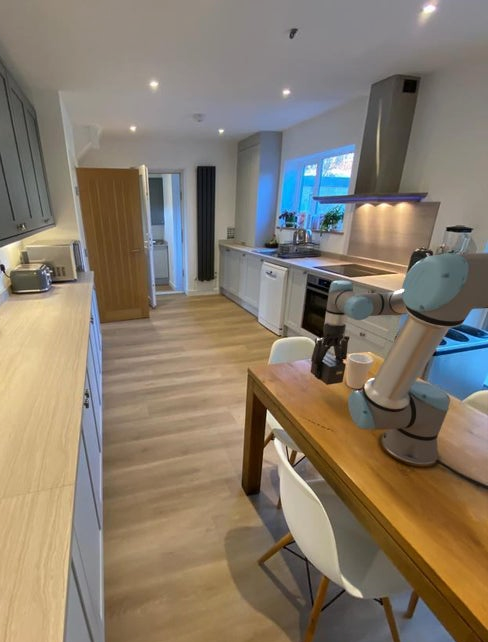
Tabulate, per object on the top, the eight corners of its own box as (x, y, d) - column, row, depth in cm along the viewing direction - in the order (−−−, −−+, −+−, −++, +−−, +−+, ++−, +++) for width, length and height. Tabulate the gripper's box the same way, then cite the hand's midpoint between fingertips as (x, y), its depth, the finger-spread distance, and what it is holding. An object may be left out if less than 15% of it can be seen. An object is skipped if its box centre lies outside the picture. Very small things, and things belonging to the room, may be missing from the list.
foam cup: (369, 391, 136) (376, 364, 130) (345, 389, 137) (351, 362, 132) (362, 380, 144) (369, 354, 138) (340, 378, 146) (345, 352, 140)
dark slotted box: (344, 384, 125) (348, 365, 122) (329, 386, 123) (332, 367, 120) (324, 369, 136) (327, 352, 133) (310, 372, 134) (312, 354, 131)
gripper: (350, 317, 126) (340, 369, 136) (305, 322, 122) (298, 375, 131) (365, 323, 120) (353, 377, 129) (317, 329, 115) (309, 384, 125)
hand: (325, 376), depth 130 cm, fingers closed on dark slotted box, 7 cm apart
